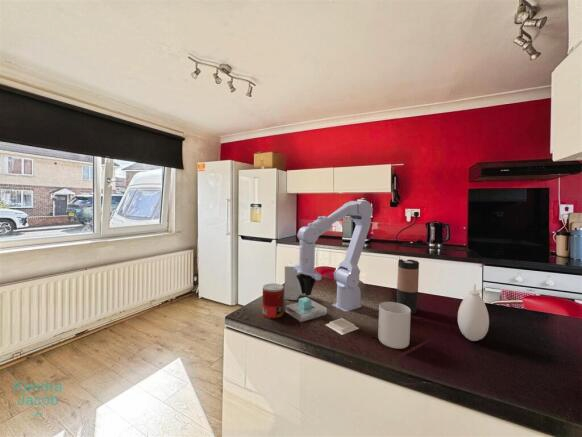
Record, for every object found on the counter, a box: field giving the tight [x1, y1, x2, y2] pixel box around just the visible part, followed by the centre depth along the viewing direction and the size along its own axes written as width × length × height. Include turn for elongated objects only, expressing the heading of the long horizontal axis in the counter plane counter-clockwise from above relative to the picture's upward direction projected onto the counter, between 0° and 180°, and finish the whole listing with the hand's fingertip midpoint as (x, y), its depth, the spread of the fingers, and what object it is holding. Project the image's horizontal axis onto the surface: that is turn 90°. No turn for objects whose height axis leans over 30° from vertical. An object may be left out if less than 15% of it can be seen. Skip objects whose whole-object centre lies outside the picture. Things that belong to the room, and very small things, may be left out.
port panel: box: [285, 299, 328, 323], centre depth 96 cm, size 12×10×3 cm
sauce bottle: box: [457, 283, 490, 342], centre depth 79 cm, size 8×8×18 cm
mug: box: [377, 301, 412, 350], centre depth 78 cm, size 12×9×11 cm
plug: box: [297, 296, 312, 310], centre depth 96 cm, size 4×4×6 cm
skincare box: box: [284, 262, 302, 301], centre depth 114 cm, size 8×6×15 cm
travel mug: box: [396, 259, 420, 315], centre depth 101 cm, size 8×8×20 cm
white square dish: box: [324, 317, 360, 336], centre depth 86 cm, size 8×8×2 cm
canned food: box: [262, 283, 285, 319], centre depth 95 cm, size 8×8×11 cm
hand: (306, 294), depth 96 cm, fingers closed
